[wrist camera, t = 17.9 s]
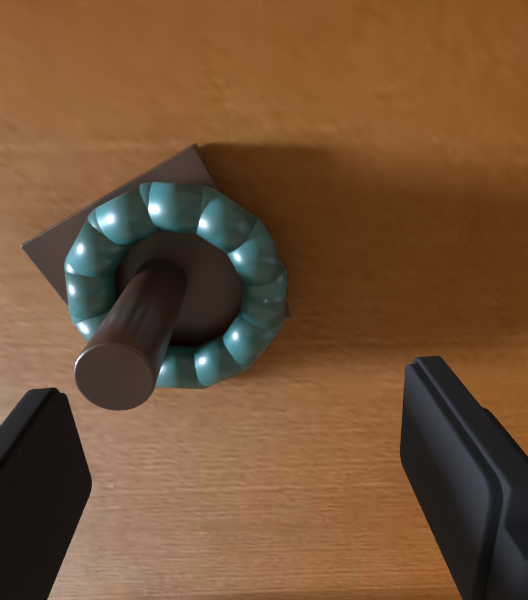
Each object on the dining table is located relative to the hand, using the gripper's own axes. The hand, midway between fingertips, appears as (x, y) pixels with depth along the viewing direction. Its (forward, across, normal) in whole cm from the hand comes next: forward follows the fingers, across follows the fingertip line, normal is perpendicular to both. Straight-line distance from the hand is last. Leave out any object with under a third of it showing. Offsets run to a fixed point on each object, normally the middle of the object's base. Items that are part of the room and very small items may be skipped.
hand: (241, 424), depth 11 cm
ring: (+10, +3, 0) cm, 10 cm away
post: (+12, +4, 0) cm, 12 cm away
